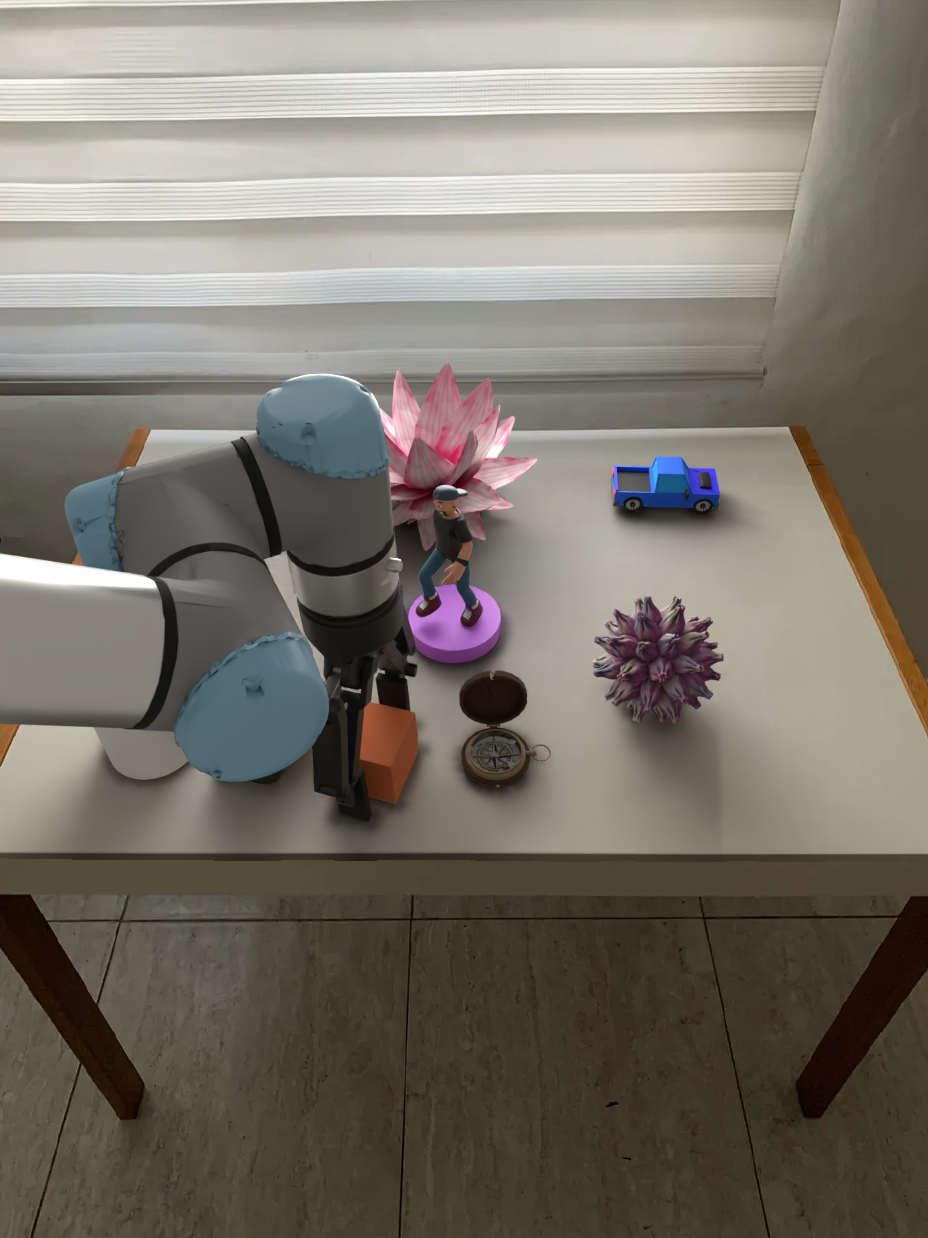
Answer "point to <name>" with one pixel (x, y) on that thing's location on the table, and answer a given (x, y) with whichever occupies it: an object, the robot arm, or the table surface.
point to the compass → (495, 729)
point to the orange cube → (387, 749)
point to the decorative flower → (448, 452)
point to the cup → (141, 752)
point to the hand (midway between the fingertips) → (377, 767)
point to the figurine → (452, 593)
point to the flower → (657, 659)
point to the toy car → (665, 486)
